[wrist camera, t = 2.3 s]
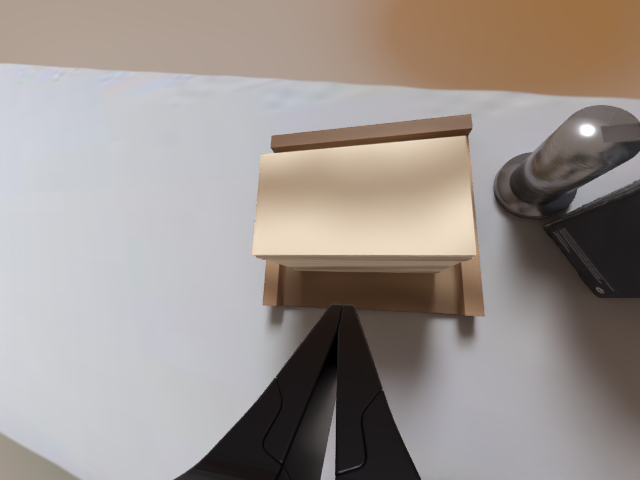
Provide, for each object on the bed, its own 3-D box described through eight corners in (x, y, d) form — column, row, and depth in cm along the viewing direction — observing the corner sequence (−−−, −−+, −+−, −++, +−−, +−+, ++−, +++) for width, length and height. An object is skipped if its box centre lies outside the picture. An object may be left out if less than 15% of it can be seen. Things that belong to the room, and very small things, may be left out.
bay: (474, 314, 20) (490, 317, 17) (272, 304, 23) (257, 305, 20) (459, 137, 23) (471, 114, 20) (283, 153, 26) (271, 135, 24)
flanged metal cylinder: (617, 216, 19) (814, 149, 10) (497, 219, 21) (579, 164, 12) (604, 152, 20) (771, 42, 11) (490, 160, 22) (562, 70, 13)
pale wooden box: (436, 273, 20) (477, 256, 12) (299, 271, 23) (250, 255, 14) (432, 199, 21) (466, 134, 13) (303, 205, 24) (260, 153, 15)
